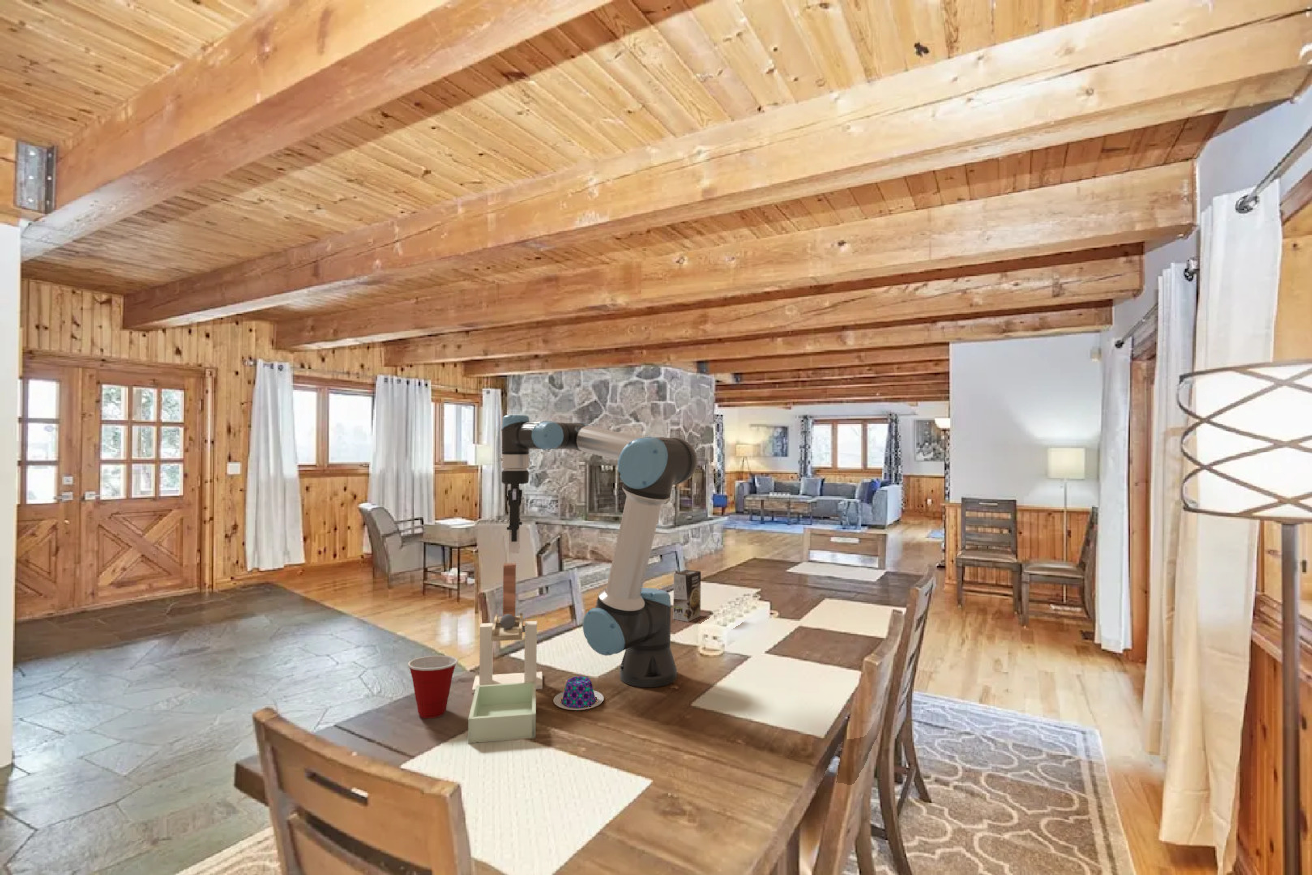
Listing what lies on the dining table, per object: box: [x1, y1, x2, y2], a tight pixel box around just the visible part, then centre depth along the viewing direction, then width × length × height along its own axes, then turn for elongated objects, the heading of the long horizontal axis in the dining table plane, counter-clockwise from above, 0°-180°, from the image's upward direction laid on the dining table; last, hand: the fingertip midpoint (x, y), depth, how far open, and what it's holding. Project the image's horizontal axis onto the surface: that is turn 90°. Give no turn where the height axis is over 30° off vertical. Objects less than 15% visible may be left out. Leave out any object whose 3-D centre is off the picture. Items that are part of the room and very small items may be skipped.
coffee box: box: [672, 569, 702, 623], centre depth 219 cm, size 9×6×16 cm
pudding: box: [553, 675, 605, 711], centre depth 149 cm, size 12×12×5 cm
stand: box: [471, 620, 543, 694], centre depth 159 cm, size 9×17×16 cm, turn 101°
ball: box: [500, 614, 515, 629], centre depth 151 cm, size 4×4×4 cm
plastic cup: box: [407, 655, 459, 719], centre depth 142 cm, size 11×11×12 cm
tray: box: [467, 682, 537, 744], centre depth 137 cm, size 18×14×5 cm
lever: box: [491, 562, 524, 642], centre depth 154 cm, size 16×7×15 cm, turn 11°
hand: (514, 550), depth 176 cm, fingers open, 7 cm apart
